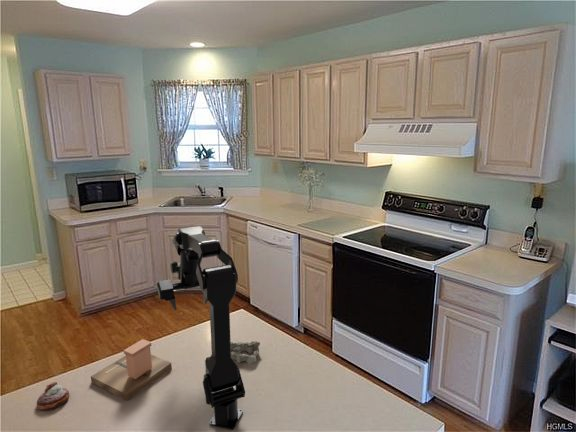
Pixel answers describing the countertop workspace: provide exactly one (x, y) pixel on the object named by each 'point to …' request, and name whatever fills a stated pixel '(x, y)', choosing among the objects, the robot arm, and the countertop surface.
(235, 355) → the egg carton
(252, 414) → the countertop surface
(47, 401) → the pastry
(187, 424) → the countertop surface
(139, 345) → the handle
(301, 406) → the countertop surface
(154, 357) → the fader track
